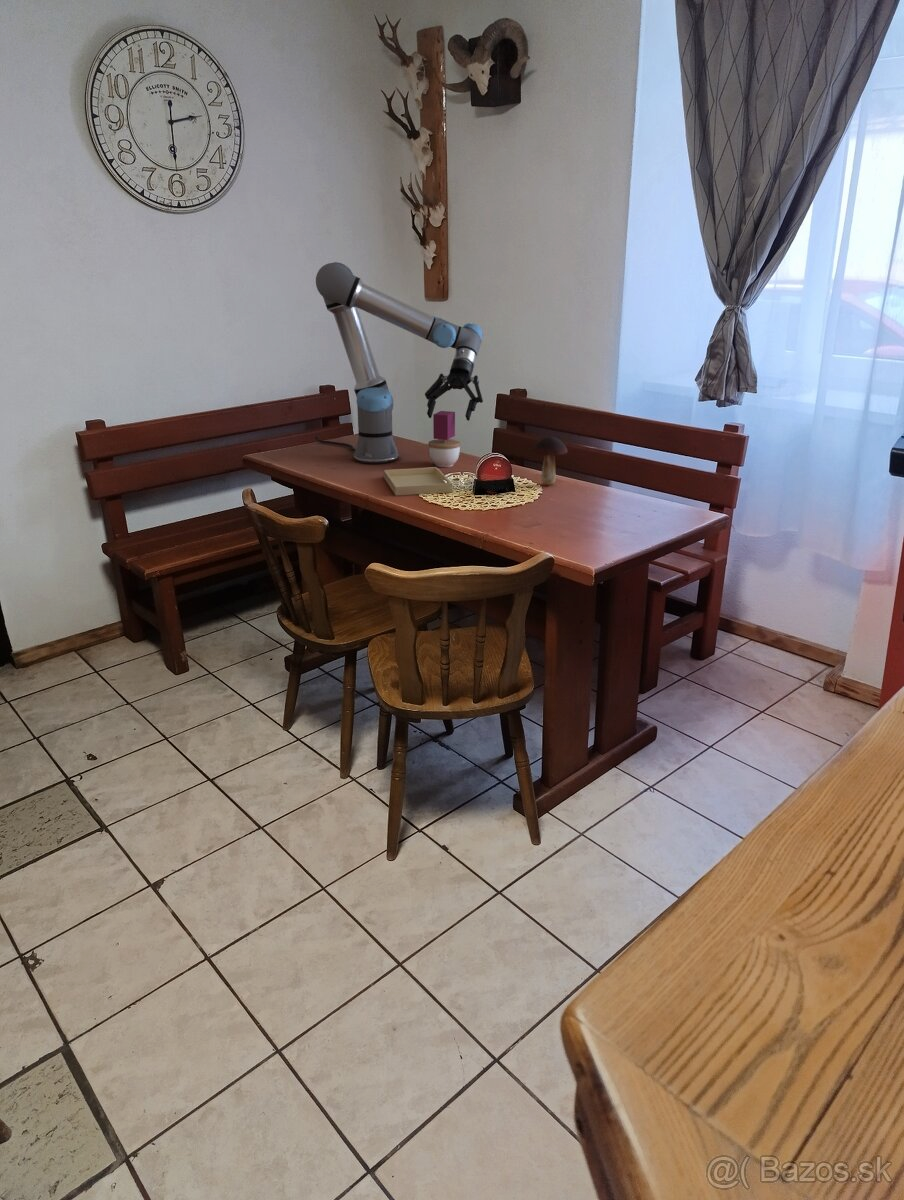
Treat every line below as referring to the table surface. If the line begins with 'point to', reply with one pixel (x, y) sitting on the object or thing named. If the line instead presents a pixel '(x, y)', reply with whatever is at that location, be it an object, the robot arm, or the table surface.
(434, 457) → the trinket box
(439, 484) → the tray
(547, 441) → the decorative mushroom
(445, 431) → the mulberry block
